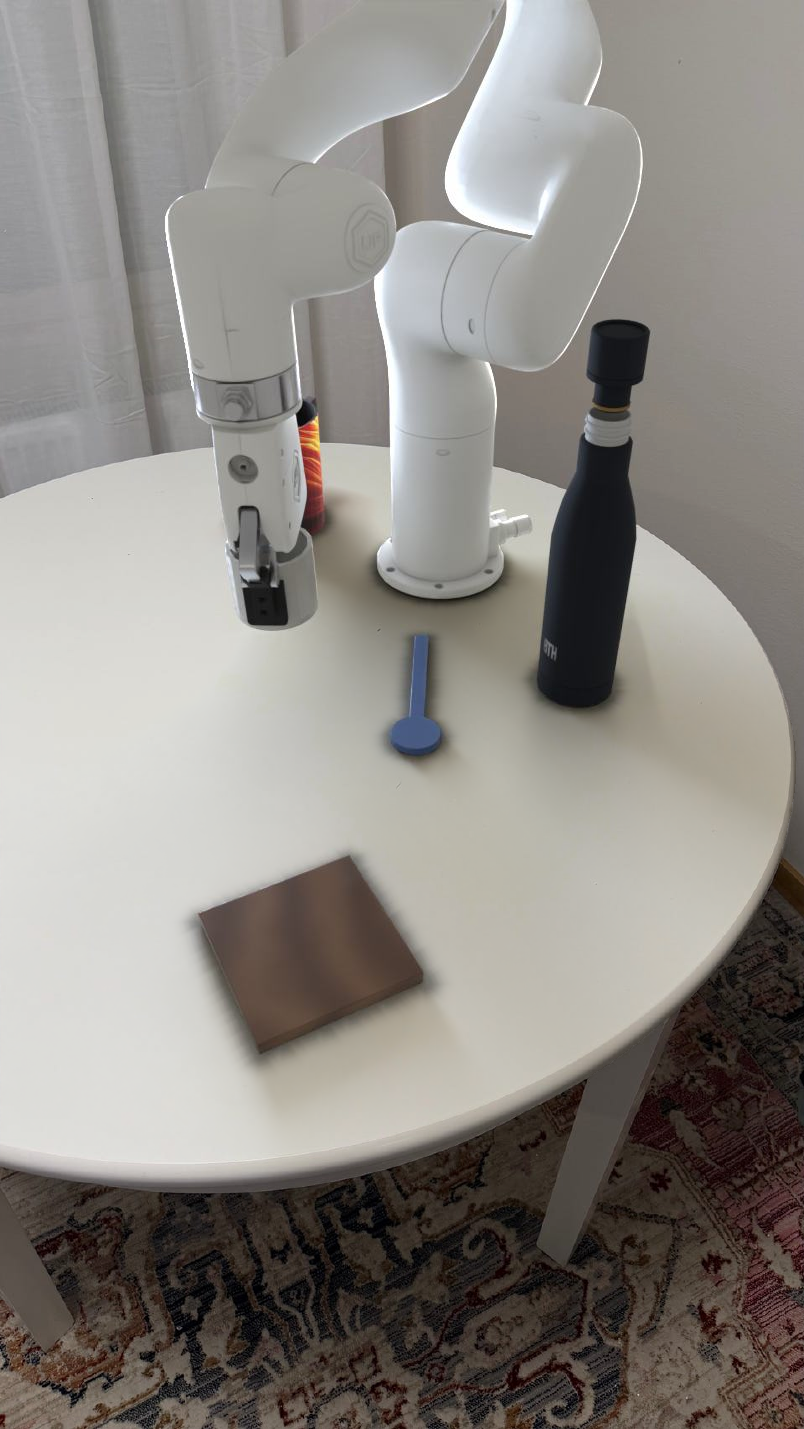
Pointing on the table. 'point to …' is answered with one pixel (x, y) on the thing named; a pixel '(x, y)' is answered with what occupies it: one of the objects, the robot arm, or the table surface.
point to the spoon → (417, 710)
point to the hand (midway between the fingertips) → (275, 594)
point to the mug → (311, 465)
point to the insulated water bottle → (594, 530)
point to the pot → (296, 576)
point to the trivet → (308, 952)
